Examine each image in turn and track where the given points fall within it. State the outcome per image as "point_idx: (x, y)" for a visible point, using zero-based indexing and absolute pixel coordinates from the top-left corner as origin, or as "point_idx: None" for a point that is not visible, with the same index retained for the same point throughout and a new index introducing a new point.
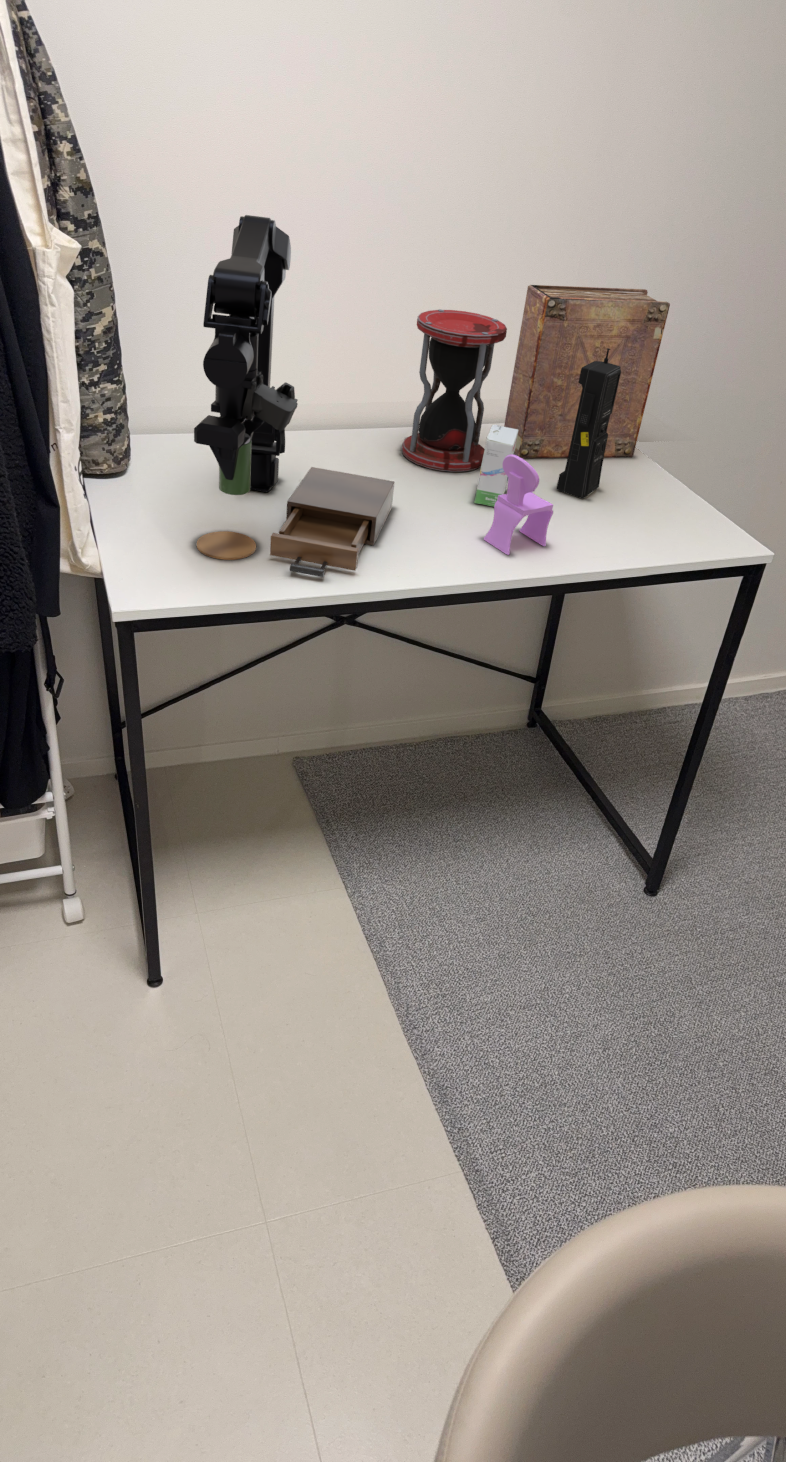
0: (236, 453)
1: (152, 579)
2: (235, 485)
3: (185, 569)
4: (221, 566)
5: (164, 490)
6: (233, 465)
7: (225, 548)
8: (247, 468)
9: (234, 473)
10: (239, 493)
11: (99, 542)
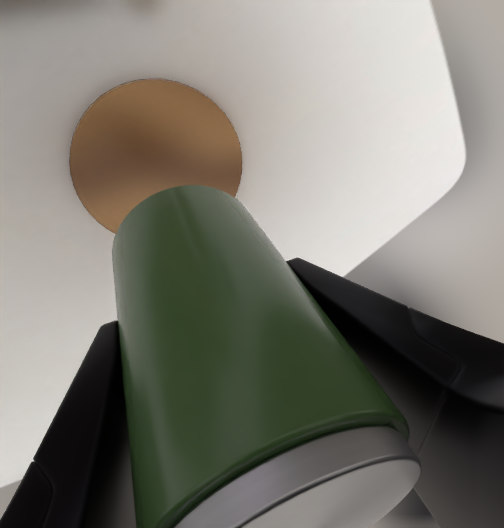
0: (478, 344)
1: (370, 201)
2: (265, 234)
3: (315, 178)
4: (268, 118)
5: (16, 421)
6: (381, 297)
7: (188, 160)
8: (242, 258)
9: (303, 273)
10: (239, 202)
11: None
